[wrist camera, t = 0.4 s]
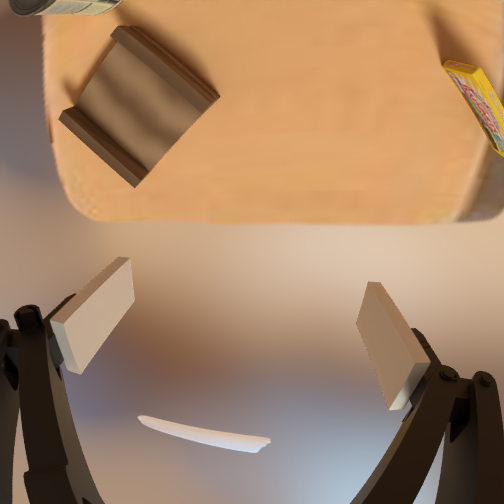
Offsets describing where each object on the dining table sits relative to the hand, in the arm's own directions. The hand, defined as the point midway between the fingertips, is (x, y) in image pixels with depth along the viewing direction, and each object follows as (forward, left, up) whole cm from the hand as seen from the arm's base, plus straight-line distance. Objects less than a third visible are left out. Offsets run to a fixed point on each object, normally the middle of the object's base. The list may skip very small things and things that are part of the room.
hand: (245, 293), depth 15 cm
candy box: (-29, +13, -27) cm, 42 cm away
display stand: (+8, -17, -27) cm, 33 cm away
